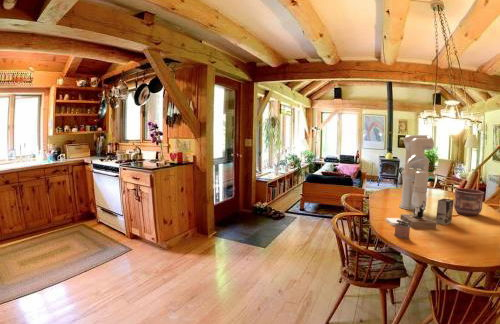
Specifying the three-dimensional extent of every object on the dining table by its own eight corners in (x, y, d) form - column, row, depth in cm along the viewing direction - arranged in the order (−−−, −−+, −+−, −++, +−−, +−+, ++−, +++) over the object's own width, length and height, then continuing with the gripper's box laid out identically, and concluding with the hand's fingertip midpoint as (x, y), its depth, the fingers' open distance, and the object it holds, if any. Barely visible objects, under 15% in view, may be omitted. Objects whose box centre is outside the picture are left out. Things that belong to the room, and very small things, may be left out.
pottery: (487, 218, 197) (490, 193, 195) (460, 216, 201) (462, 192, 199) (473, 211, 215) (475, 188, 213) (448, 209, 218) (450, 187, 216)
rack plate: (400, 219, 193) (400, 213, 193) (422, 220, 192) (422, 214, 191) (412, 227, 177) (412, 221, 177) (436, 228, 176) (436, 222, 176)
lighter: (410, 238, 161) (411, 221, 159) (408, 239, 158) (409, 223, 157) (395, 234, 166) (396, 218, 165) (393, 235, 164) (394, 219, 163)
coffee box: (446, 225, 182) (448, 202, 180) (435, 222, 187) (437, 199, 185) (451, 222, 187) (454, 200, 185) (441, 220, 192) (443, 198, 190)
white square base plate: (385, 220, 191) (385, 217, 191) (398, 221, 190) (398, 218, 190) (391, 225, 181) (392, 222, 181) (405, 226, 180) (406, 223, 180)
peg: (413, 218, 186) (414, 204, 185) (419, 218, 186) (420, 204, 185) (416, 220, 182) (417, 206, 181) (422, 220, 182) (423, 206, 181)
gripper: (408, 186, 190) (406, 212, 192) (421, 192, 174) (419, 220, 176) (419, 187, 190) (417, 212, 192) (433, 192, 173) (431, 220, 175)
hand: (418, 215), depth 184 cm, fingers closed on peg, 3 cm apart
